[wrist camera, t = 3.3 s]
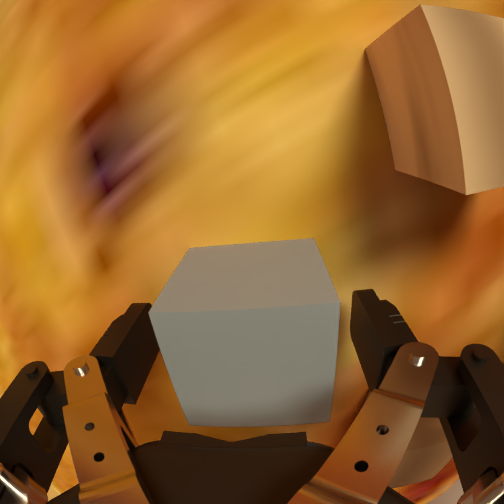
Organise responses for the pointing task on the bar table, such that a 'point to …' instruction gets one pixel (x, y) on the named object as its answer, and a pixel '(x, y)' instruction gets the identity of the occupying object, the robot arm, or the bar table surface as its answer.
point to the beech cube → (444, 96)
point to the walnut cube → (422, 453)
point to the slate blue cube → (250, 334)
